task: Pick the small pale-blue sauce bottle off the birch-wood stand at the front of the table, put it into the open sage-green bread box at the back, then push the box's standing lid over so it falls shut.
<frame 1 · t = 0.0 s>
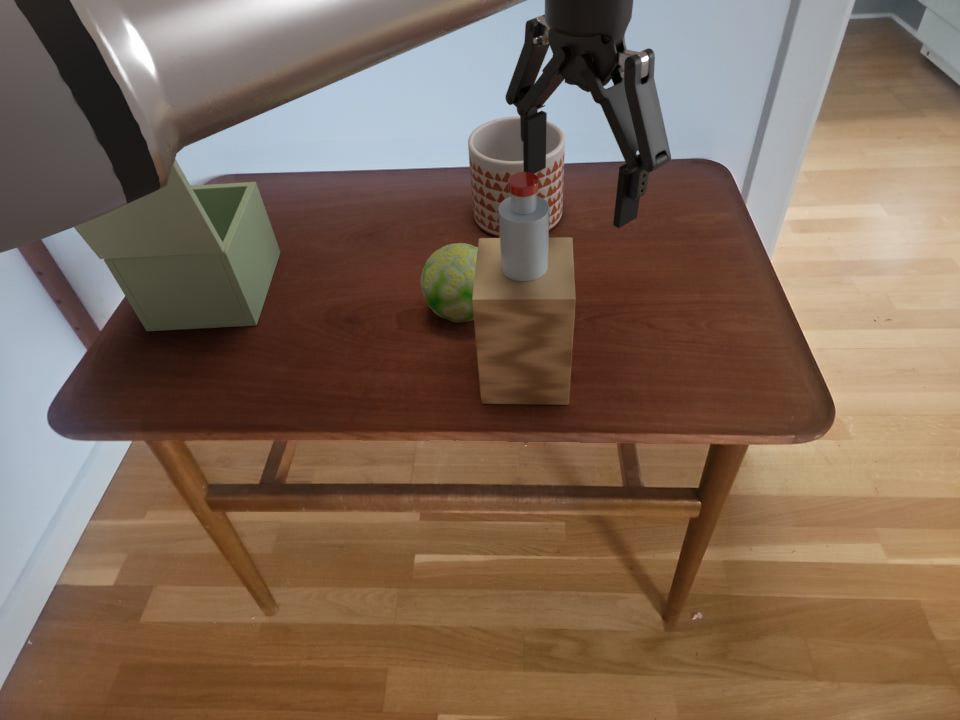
hand: (577, 195, 69), 19 cm above the table, tool pointing down, fingers open, 13 cm apart
bottle: (524, 266, 66), point 16 cm above the table, touching stand
lid: (125, 199, 70), point 21 cm above the table, hinge at 100.7°
planter: (517, 215, 100), on the table
stand: (525, 372, 77), on the table
decorative ball: (463, 313, 85), on the table
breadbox: (217, 289, 92), on the table
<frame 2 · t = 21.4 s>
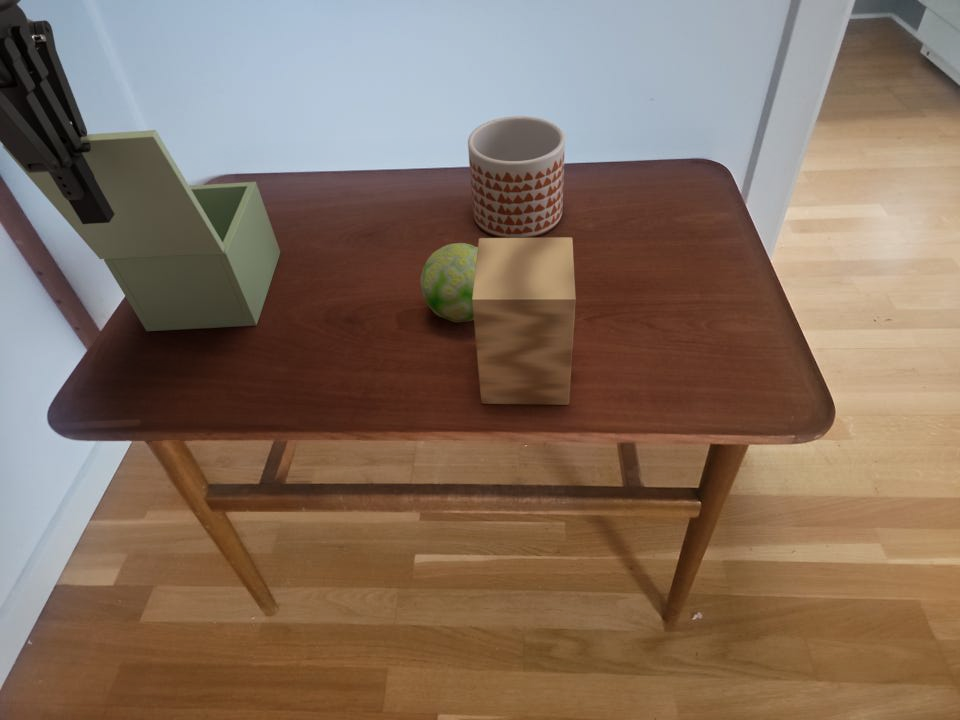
hand: (98, 218, 65), 22 cm above the table, tool pointing down, fingers closed
bottle: (215, 284, 91), point 1 cm above the table, touching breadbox
lid: (125, 201, 70), point 21 cm above the table, hinge at 102.5°
everything else where it was.
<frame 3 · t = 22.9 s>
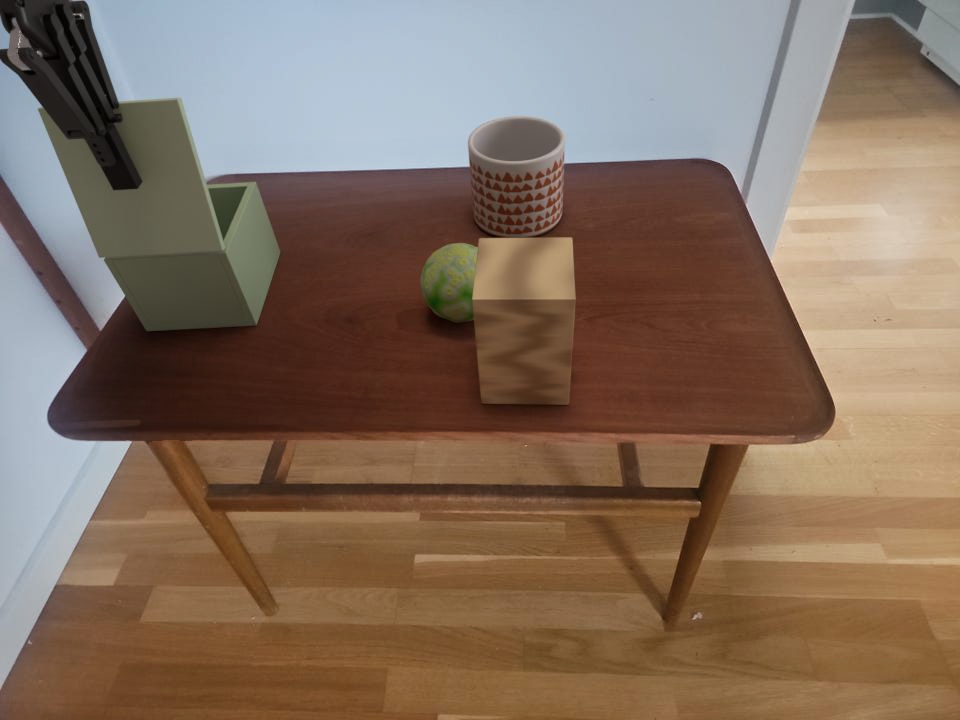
hand: (128, 185, 70), 22 cm above the table, tool pointing down, fingers closed
lid: (137, 182, 72), point 21 cm above the table, hinge at 76.5°, touching gripper
everything else where it was.
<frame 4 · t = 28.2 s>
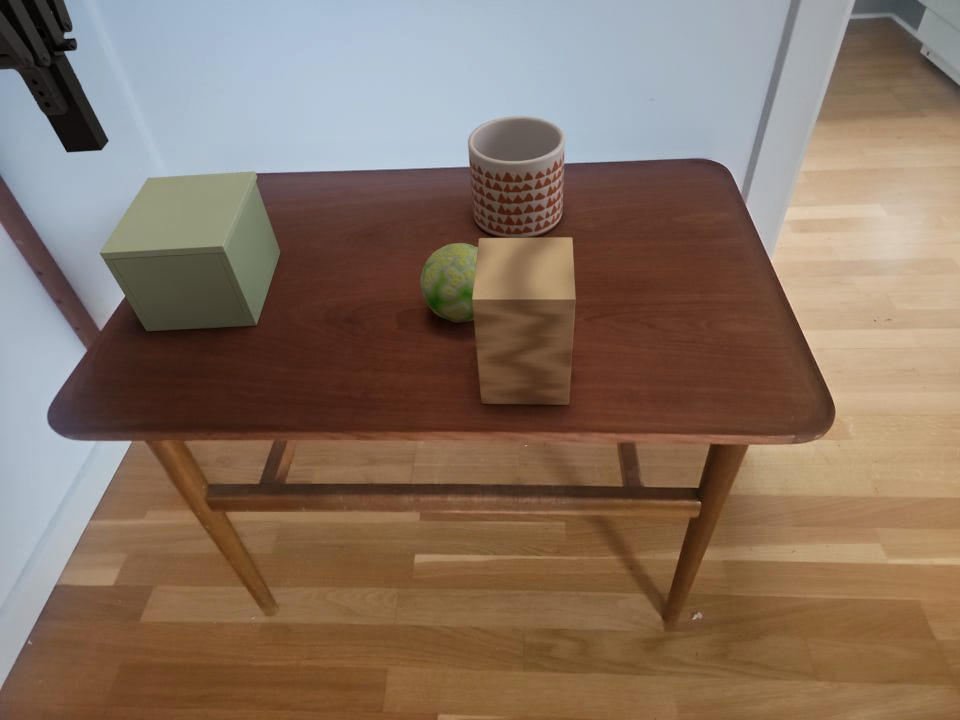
hand: (87, 146, 50), 34 cm above the table, tool pointing down, fingers closed
lid: (184, 212, 83), point 13 cm above the table, hinge at -0.1°
everything else where it was.
at the end: bottle inside the target area in the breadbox (0.0 cm from its centre), point 1.0 cm above the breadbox's base; lid at +0° (first picture: +101°) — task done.
